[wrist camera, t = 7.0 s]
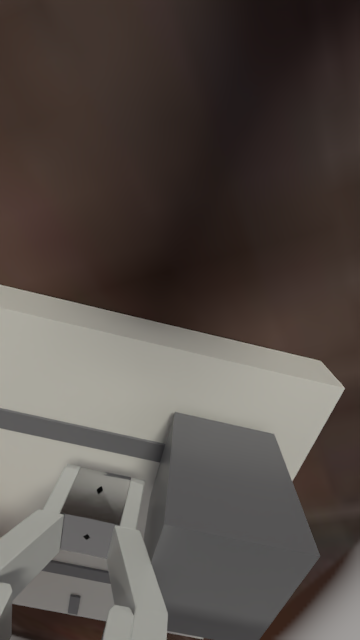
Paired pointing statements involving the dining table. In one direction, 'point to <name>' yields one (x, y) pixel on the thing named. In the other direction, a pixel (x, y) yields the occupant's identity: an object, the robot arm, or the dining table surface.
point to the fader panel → (127, 413)
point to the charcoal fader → (225, 530)
